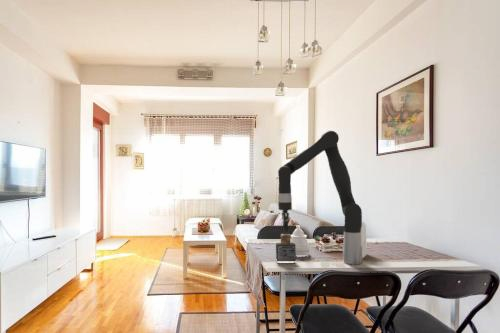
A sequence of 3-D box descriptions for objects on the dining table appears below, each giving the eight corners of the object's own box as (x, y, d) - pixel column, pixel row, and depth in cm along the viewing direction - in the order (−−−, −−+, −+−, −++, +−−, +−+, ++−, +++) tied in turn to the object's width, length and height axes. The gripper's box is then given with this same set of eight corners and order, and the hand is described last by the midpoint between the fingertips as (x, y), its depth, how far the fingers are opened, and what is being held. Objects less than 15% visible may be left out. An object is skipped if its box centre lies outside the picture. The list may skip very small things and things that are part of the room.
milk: (348, 252, 225) (347, 211, 226) (367, 254, 219) (366, 211, 220) (342, 256, 215) (342, 212, 215) (362, 258, 209) (361, 213, 209)
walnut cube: (289, 242, 204) (289, 233, 204) (290, 244, 199) (290, 235, 199) (280, 242, 204) (280, 233, 204) (281, 244, 199) (281, 235, 200)
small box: (294, 260, 205) (294, 242, 205) (296, 263, 199) (296, 244, 199) (275, 260, 205) (275, 242, 205) (277, 263, 198) (277, 244, 198)
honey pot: (308, 257, 212) (308, 227, 212) (287, 256, 214) (286, 226, 215) (309, 252, 224) (309, 224, 225) (289, 252, 227) (288, 223, 227)
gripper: (292, 202, 195) (293, 232, 195) (290, 200, 209) (291, 228, 209) (278, 202, 195) (279, 232, 195) (277, 200, 210) (278, 228, 209)
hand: (285, 230), depth 202 cm, fingers open, 8 cm apart
